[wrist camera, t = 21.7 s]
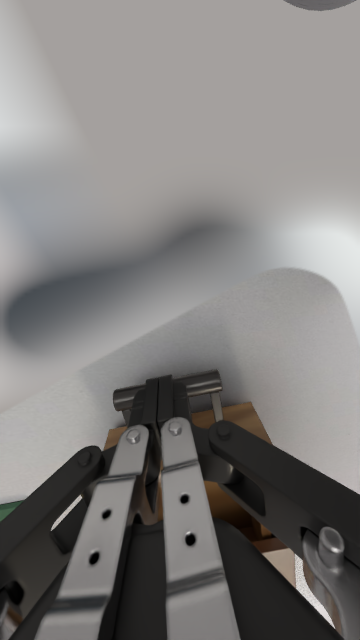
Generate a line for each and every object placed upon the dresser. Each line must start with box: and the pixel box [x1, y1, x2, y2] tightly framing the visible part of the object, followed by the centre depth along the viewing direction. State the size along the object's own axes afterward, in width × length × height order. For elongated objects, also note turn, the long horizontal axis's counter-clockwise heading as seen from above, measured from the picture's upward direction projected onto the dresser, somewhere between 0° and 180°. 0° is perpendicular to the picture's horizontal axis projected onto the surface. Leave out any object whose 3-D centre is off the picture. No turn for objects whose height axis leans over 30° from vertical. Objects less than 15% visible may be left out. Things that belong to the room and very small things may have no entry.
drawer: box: [103, 369, 273, 542], centre depth 19 cm, size 21×12×5 cm, turn 11°
